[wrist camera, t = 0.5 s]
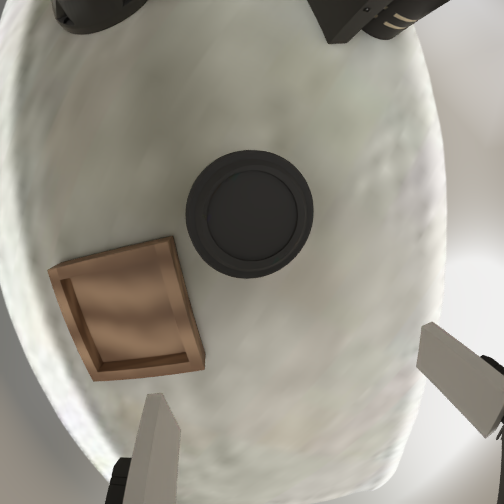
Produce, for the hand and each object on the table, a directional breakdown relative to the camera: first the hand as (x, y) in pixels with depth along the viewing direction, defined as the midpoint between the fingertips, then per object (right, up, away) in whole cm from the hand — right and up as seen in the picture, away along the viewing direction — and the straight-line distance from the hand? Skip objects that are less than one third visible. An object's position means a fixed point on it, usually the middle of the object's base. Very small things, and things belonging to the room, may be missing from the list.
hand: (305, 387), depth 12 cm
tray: (-18, -1, +21) cm, 28 cm away
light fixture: (+12, +39, +16) cm, 44 cm away
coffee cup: (-4, +12, +20) cm, 24 cm away
